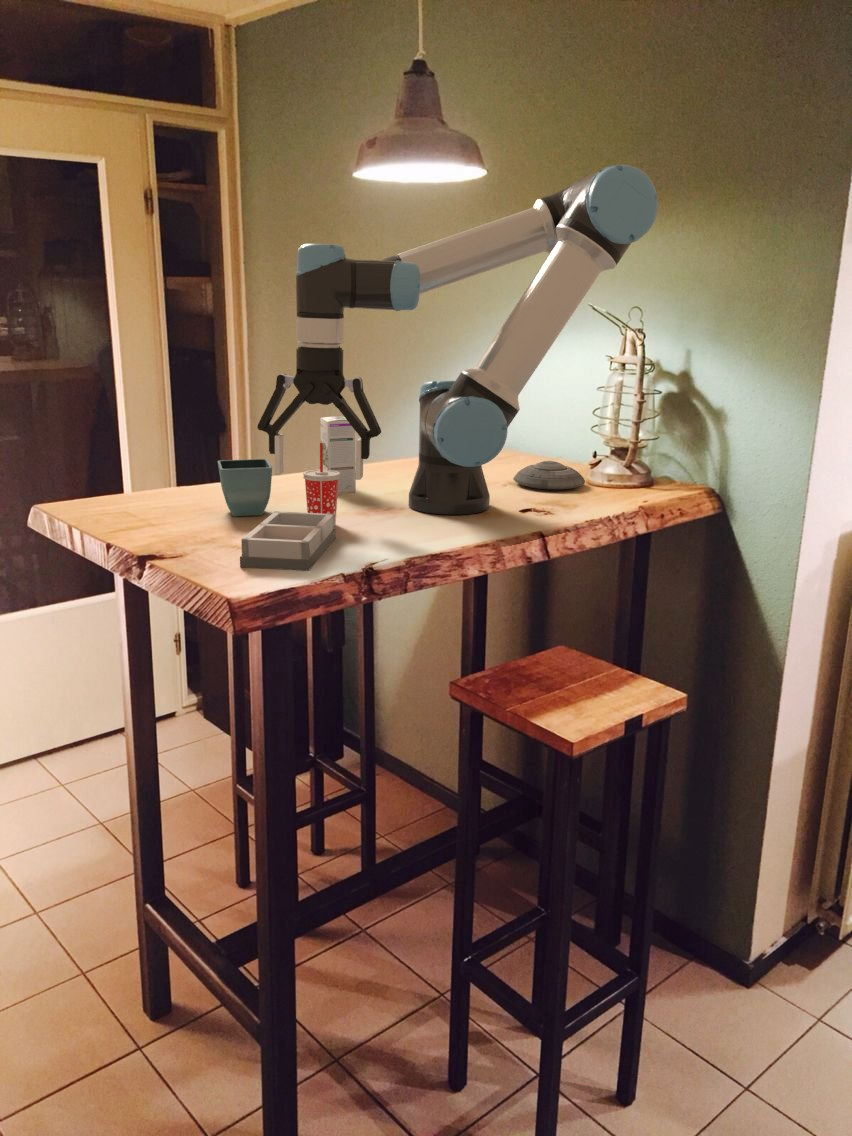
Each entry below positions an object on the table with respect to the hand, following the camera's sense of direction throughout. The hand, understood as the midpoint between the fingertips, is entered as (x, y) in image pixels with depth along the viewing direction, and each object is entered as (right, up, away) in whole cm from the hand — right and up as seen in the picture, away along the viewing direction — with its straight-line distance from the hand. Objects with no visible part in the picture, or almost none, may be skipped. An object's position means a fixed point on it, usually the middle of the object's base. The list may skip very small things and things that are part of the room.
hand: (319, 476), depth 156 cm
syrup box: (0, 0, +30) cm, 30 cm away
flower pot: (-14, -6, +10) cm, 18 cm away
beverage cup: (0, -8, +2) cm, 9 cm away
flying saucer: (+44, +2, +41) cm, 60 cm away
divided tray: (-3, -13, -14) cm, 19 cm away
